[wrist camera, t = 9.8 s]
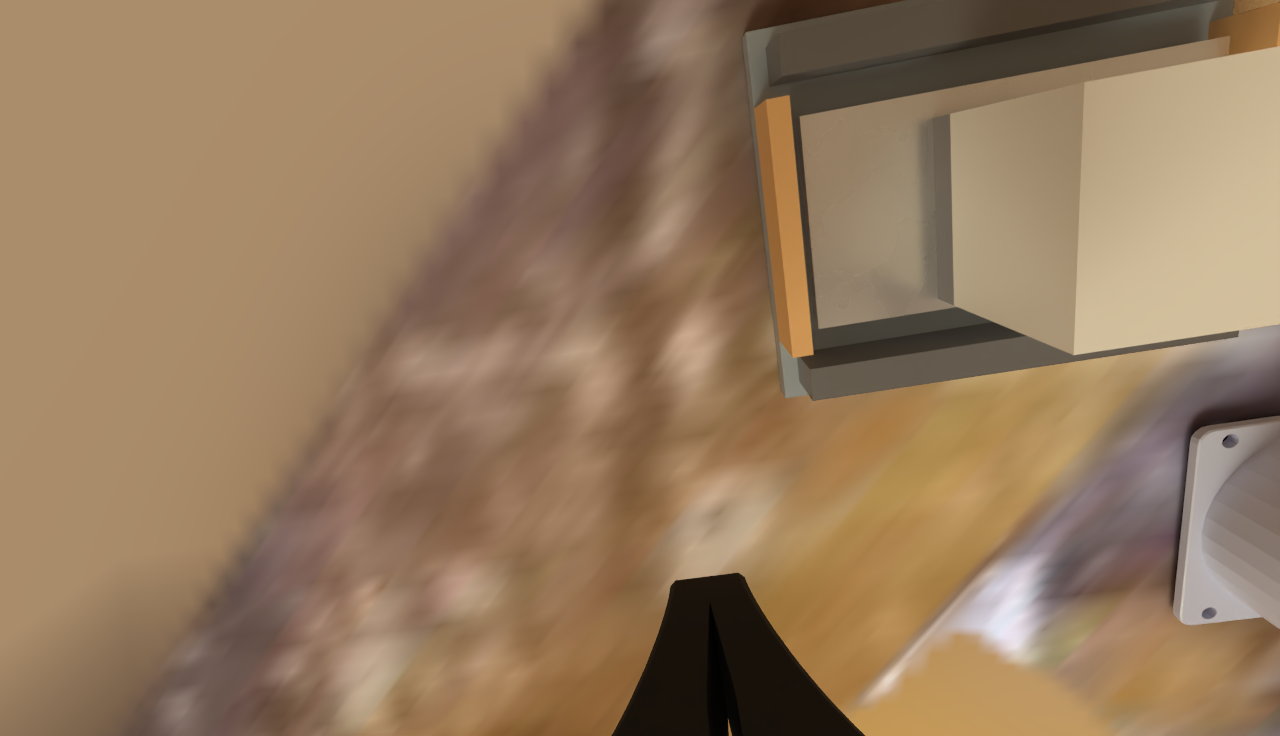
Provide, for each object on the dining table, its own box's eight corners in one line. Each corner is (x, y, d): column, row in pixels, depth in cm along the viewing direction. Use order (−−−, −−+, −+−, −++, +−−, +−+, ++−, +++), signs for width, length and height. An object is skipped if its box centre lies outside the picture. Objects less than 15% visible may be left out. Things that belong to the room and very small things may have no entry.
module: (1087, 89, 16) (1331, 36, 10) (1079, 276, 17) (1289, 322, 12) (932, 118, 16) (1084, 81, 10) (938, 298, 18) (1074, 355, 12)
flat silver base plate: (1197, 44, 16) (1230, 35, 15) (1177, 262, 18) (1207, 267, 17) (791, 119, 17) (799, 116, 16) (810, 321, 19) (818, 329, 18)
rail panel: (1213, -55, 16) (1322, -102, 14) (1178, 329, 20) (1261, 352, 17) (741, 38, 17) (757, 12, 15) (780, 390, 21) (799, 421, 18)
